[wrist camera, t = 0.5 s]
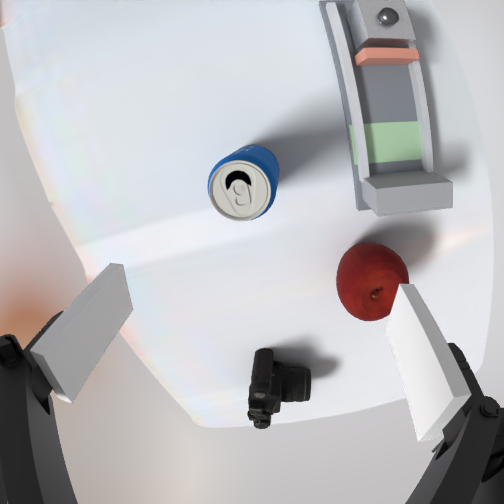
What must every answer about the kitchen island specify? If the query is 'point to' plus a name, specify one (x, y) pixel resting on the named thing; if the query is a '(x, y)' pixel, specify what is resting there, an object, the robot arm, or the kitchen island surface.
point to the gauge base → (385, 127)
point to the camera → (274, 387)
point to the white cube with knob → (380, 24)
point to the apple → (370, 280)
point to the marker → (386, 56)
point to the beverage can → (244, 183)
